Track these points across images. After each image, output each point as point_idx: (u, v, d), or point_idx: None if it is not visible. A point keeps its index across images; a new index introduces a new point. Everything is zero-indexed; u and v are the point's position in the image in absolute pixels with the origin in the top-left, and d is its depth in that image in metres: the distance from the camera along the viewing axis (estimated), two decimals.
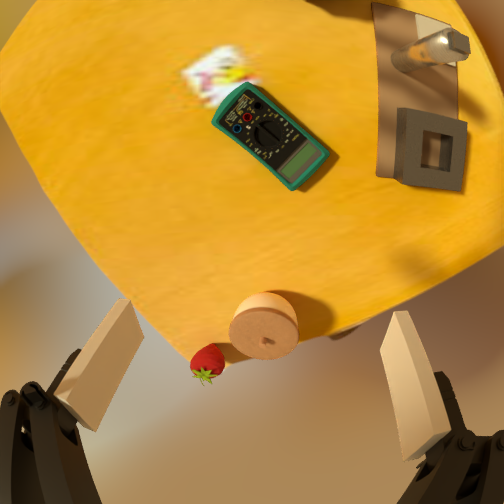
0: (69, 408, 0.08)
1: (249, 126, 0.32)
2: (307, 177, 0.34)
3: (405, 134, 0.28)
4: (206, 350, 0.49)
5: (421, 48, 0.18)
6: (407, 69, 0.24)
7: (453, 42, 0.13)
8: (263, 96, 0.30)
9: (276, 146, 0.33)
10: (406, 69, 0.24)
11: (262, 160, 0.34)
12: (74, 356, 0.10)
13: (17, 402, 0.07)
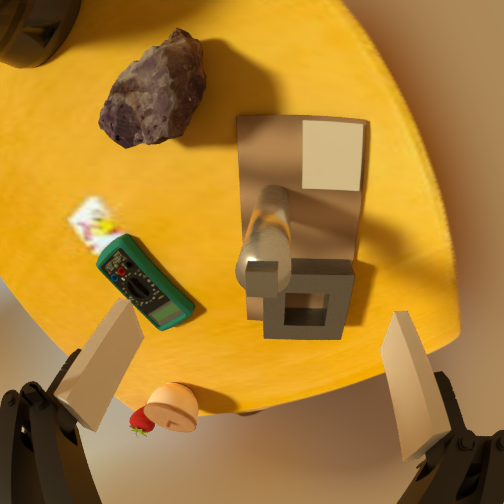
0: (69, 408, 0.08)
1: (123, 278, 0.35)
2: (172, 326, 0.38)
3: None
4: (139, 413, 0.53)
5: None
6: None
7: (246, 287, 0.16)
8: (133, 257, 0.33)
9: (145, 299, 0.36)
10: None
11: (135, 306, 0.37)
12: (74, 356, 0.10)
13: (17, 402, 0.07)
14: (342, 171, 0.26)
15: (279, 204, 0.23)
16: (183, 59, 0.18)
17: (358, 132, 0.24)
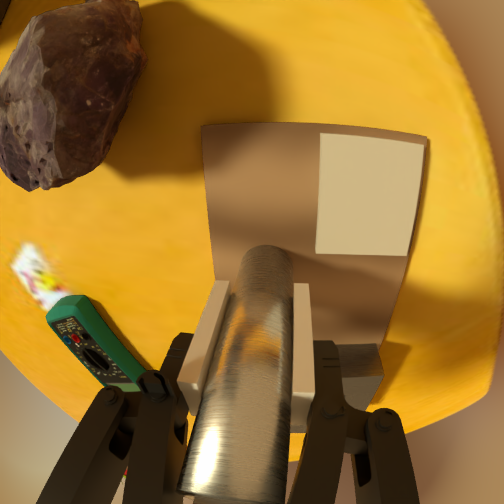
0: (191, 394, 0.09)
1: (78, 345, 0.24)
2: None
3: None
4: None
5: None
6: None
7: None
8: (92, 331, 0.22)
9: (104, 371, 0.25)
10: None
11: (91, 371, 0.26)
12: (179, 340, 0.12)
13: (119, 404, 0.08)
14: (384, 225, 0.15)
15: (274, 310, 0.12)
16: (82, 27, 0.06)
17: (415, 159, 0.13)
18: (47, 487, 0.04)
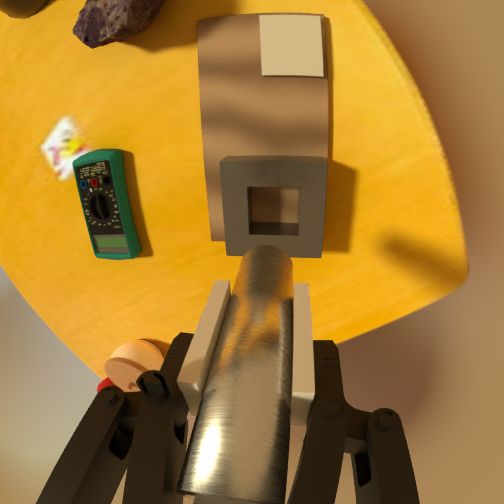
0: (191, 394, 0.09)
1: (92, 190, 0.30)
2: (109, 258, 0.35)
3: (222, 196, 0.27)
4: (107, 380, 0.48)
5: None
6: None
7: None
8: (115, 176, 0.29)
9: (100, 220, 0.32)
10: None
11: (86, 221, 0.32)
12: (179, 340, 0.12)
13: (119, 404, 0.08)
14: (302, 57, 0.21)
15: (274, 310, 0.12)
16: None
17: (315, 22, 0.19)
18: (47, 487, 0.04)
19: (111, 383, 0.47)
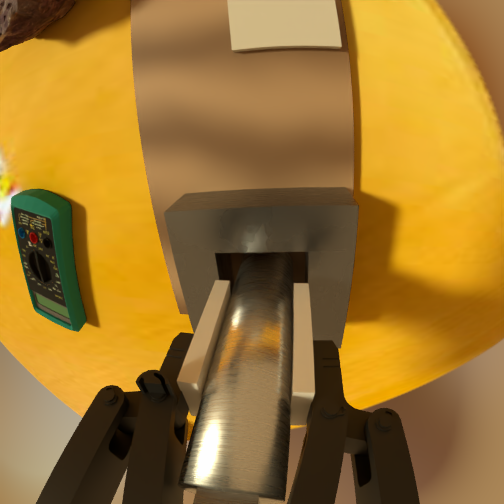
0: (191, 394, 0.09)
1: (31, 244, 0.19)
2: (50, 319, 0.24)
3: (177, 266, 0.16)
4: None
5: None
6: None
7: None
8: (58, 243, 0.19)
9: (40, 281, 0.21)
10: None
11: (25, 273, 0.21)
12: (179, 340, 0.12)
13: (119, 404, 0.08)
14: (302, 16, 0.11)
15: (274, 306, 0.12)
16: None
17: None
18: (47, 487, 0.04)
19: None
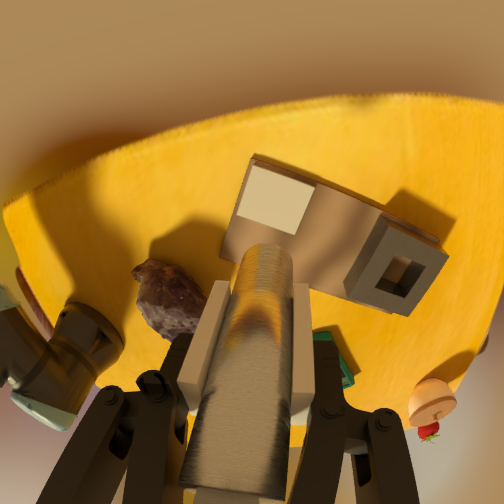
0: (191, 394, 0.09)
1: None
2: None
3: (370, 304, 0.32)
4: None
5: None
6: None
7: None
8: None
9: None
10: None
11: None
12: (179, 340, 0.12)
13: (119, 404, 0.08)
14: (291, 197, 0.30)
15: (274, 306, 0.12)
16: (152, 288, 0.31)
17: (259, 172, 0.29)
18: (47, 487, 0.04)
19: None
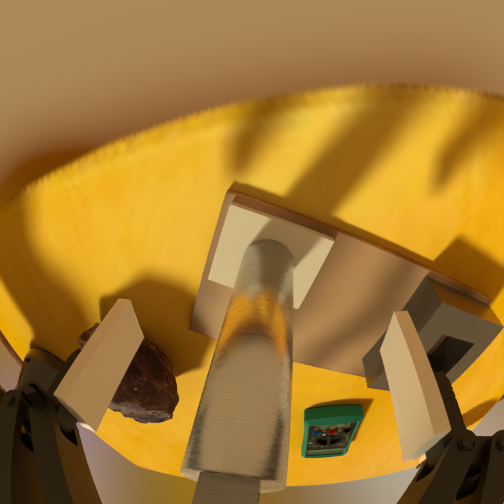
0: (69, 408, 0.08)
1: (325, 434, 0.29)
2: None
3: None
4: None
5: None
6: None
7: None
8: (357, 427, 0.28)
9: (324, 445, 0.31)
10: None
11: (306, 446, 0.31)
12: (74, 356, 0.10)
13: (17, 402, 0.07)
14: (294, 256, 0.18)
15: (274, 298, 0.13)
16: None
17: (241, 215, 0.17)
18: None
19: None
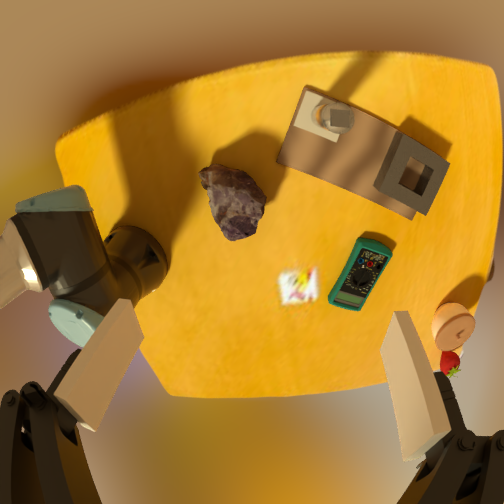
0: (69, 408, 0.08)
1: (363, 266, 0.47)
2: (341, 307, 0.52)
3: (396, 199, 0.39)
4: (442, 359, 0.55)
5: (317, 118, 0.29)
6: None
7: (331, 120, 0.24)
8: None
9: (355, 285, 0.49)
10: None
11: (343, 281, 0.49)
12: (74, 356, 0.10)
13: (17, 402, 0.07)
14: None
15: None
16: (223, 176, 0.38)
17: (311, 95, 0.36)
18: None
19: (446, 357, 0.53)
